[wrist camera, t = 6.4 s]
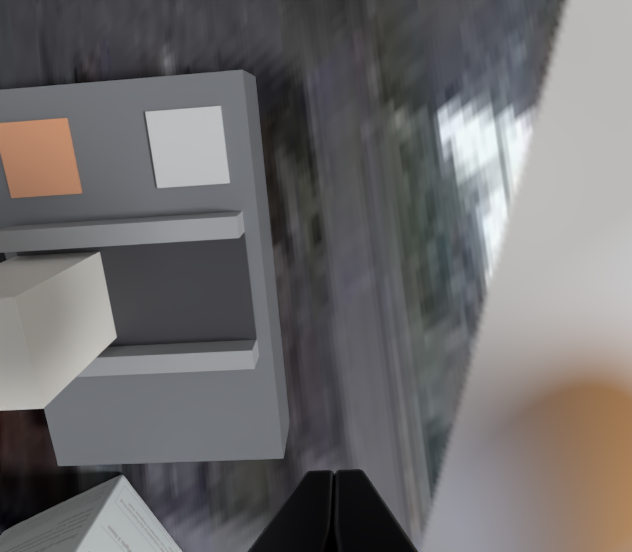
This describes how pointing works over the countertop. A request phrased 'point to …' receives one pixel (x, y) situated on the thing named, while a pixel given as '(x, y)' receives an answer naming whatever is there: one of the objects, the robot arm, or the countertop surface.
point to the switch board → (156, 261)
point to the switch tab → (50, 324)
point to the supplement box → (92, 524)
